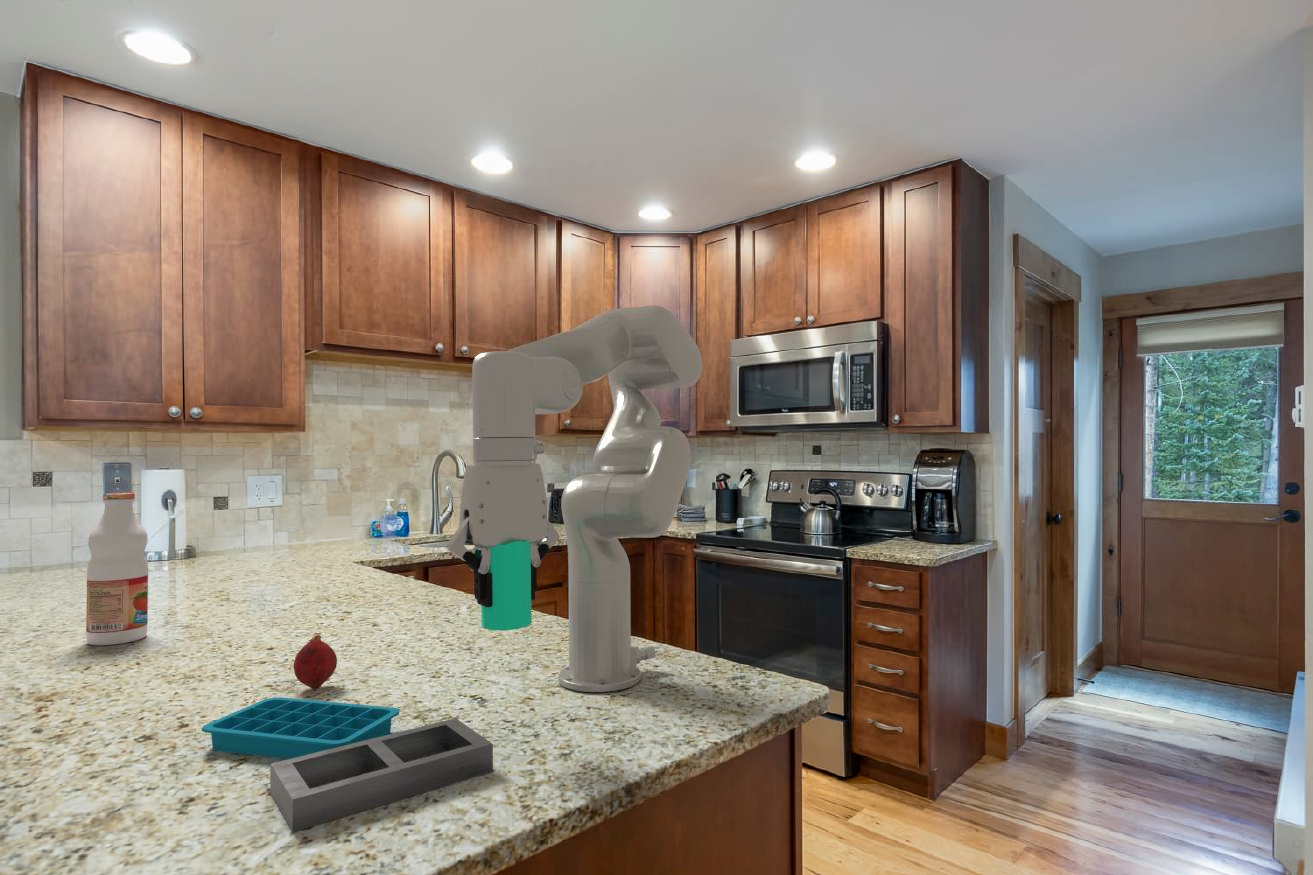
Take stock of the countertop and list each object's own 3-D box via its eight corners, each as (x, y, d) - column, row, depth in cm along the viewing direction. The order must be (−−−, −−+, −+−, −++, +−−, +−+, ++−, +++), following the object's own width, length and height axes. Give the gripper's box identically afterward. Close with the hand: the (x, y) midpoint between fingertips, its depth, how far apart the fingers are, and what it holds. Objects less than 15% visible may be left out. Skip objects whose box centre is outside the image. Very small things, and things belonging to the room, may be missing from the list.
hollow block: (455, 743, 86) (455, 718, 86) (492, 771, 79) (492, 743, 79) (270, 792, 74) (270, 763, 74) (292, 832, 66) (292, 799, 66)
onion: (319, 696, 104) (319, 640, 104) (284, 694, 105) (284, 639, 105) (344, 683, 109) (344, 631, 110) (311, 681, 111) (311, 629, 111)
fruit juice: (82, 640, 137) (84, 493, 138) (142, 631, 144) (144, 491, 145) (89, 649, 131) (91, 495, 131) (151, 639, 137) (153, 493, 138)
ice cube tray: (342, 771, 80) (342, 744, 80) (195, 754, 85) (195, 728, 85) (404, 732, 91) (404, 708, 91) (271, 718, 96) (271, 696, 96)
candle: (471, 628, 86) (470, 528, 86) (500, 616, 92) (499, 523, 92) (513, 632, 84) (512, 529, 84) (540, 620, 89) (539, 524, 90)
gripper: (549, 452, 96) (551, 588, 96) (425, 454, 86) (426, 607, 85) (579, 452, 90) (581, 596, 90) (450, 454, 80) (451, 618, 80)
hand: (506, 600), depth 88 cm, fingers closed on candle, 4 cm apart
